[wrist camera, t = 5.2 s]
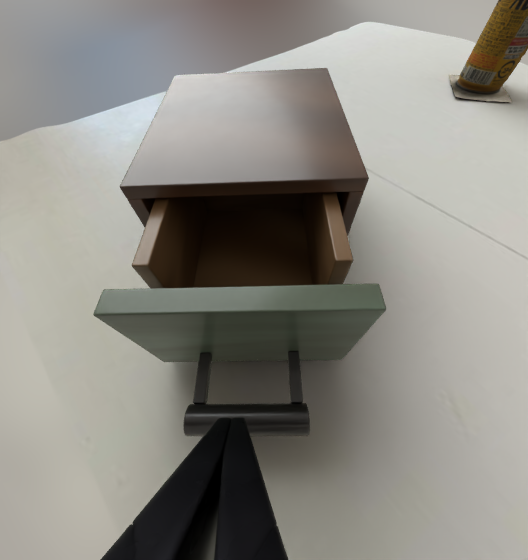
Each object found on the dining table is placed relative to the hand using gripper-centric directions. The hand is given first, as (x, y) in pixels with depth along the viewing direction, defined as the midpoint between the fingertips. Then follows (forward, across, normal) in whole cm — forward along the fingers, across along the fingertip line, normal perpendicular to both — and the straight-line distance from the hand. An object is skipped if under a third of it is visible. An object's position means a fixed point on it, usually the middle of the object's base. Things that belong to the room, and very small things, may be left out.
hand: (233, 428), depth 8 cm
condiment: (+37, -33, -25) cm, 55 cm away
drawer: (+11, 0, -1) cm, 11 cm away
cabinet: (+18, 0, -7) cm, 19 cm away
